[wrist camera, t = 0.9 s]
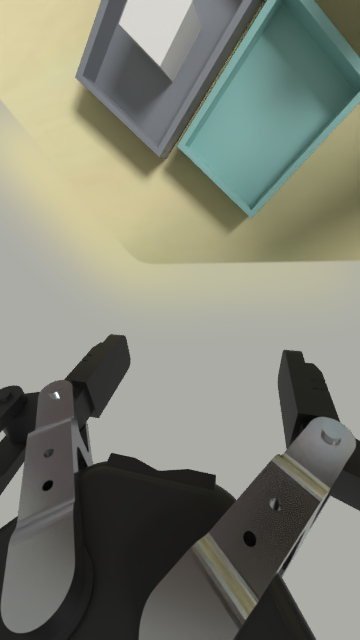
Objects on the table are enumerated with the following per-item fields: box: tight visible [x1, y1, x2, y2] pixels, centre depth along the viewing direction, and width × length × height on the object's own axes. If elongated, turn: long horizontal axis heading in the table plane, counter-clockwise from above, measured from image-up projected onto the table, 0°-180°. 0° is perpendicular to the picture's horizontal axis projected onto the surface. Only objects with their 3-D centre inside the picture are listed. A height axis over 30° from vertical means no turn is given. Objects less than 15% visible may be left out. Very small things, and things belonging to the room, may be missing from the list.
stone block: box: [119, 0, 201, 82], centre depth 22 cm, size 4×4×4 cm
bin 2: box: [177, 0, 360, 218], centre depth 24 cm, size 14×11×3 cm
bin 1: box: [75, 0, 263, 159], centre depth 23 cm, size 16×11×3 cm
